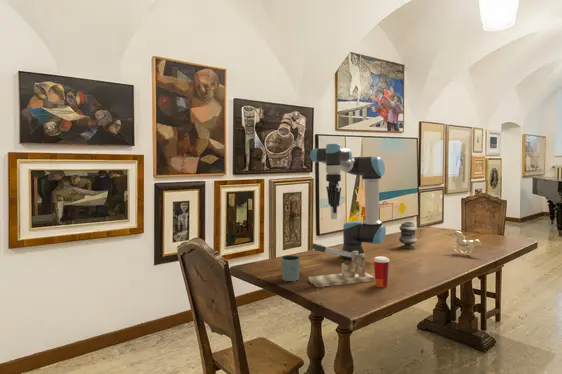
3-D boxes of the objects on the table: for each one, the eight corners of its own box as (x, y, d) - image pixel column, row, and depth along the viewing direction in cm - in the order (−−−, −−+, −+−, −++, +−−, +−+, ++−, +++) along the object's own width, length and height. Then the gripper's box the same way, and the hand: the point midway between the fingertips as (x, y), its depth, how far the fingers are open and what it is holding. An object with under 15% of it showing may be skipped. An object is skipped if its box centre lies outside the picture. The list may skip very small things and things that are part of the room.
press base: (362, 274, 219) (362, 249, 218) (374, 280, 207) (374, 254, 206) (308, 280, 209) (308, 254, 208) (317, 287, 198) (317, 259, 197)
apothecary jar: (399, 249, 281) (399, 223, 280) (399, 245, 292) (399, 221, 291) (417, 249, 277) (417, 224, 276) (416, 246, 289) (416, 221, 288)
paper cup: (386, 283, 203) (386, 255, 203) (391, 287, 196) (391, 259, 195) (371, 283, 203) (371, 256, 202) (375, 288, 196) (375, 260, 195)
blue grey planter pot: (289, 275, 218) (289, 254, 218) (304, 279, 212) (304, 256, 211) (277, 280, 211) (277, 257, 210) (292, 283, 204) (292, 260, 203)
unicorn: (482, 256, 255) (483, 230, 254) (480, 258, 253) (480, 231, 252) (451, 252, 269) (451, 227, 268) (448, 253, 267) (449, 227, 266)
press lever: (357, 258, 213) (358, 253, 214) (362, 260, 208) (363, 255, 208) (311, 248, 205) (312, 243, 205) (315, 250, 200) (317, 245, 200)
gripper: (321, 173, 211) (322, 217, 213) (332, 174, 199) (332, 221, 201) (334, 173, 214) (334, 216, 216) (345, 173, 202) (346, 220, 203)
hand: (333, 218), depth 208 cm, fingers closed
